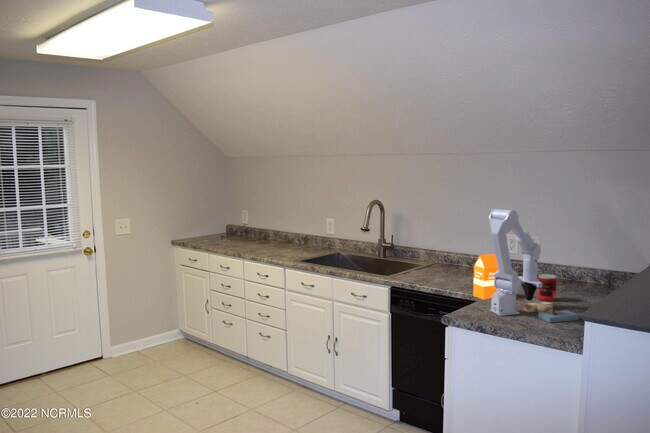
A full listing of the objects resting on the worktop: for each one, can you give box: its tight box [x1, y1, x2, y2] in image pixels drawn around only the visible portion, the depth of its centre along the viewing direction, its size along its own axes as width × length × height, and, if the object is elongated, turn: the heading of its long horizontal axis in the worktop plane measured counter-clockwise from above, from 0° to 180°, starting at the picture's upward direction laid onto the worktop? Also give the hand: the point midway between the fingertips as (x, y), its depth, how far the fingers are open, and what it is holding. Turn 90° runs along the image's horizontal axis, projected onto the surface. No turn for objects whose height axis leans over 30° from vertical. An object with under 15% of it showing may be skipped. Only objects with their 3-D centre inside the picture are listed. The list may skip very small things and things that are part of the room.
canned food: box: [537, 273, 557, 302], centre depth 245 cm, size 8×8×11 cm
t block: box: [523, 301, 554, 314], centre depth 225 cm, size 12×8×3 cm, turn 104°
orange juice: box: [473, 253, 498, 300], centre depth 250 cm, size 8×9×20 cm
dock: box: [537, 309, 580, 323], centre depth 215 cm, size 13×7×2 cm, turn 104°
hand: (529, 300), depth 234 cm, fingers closed
